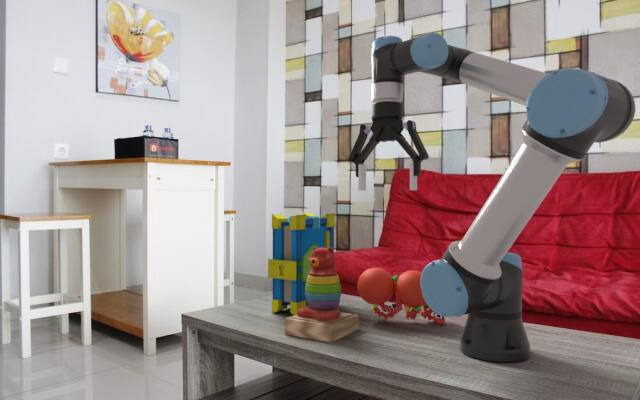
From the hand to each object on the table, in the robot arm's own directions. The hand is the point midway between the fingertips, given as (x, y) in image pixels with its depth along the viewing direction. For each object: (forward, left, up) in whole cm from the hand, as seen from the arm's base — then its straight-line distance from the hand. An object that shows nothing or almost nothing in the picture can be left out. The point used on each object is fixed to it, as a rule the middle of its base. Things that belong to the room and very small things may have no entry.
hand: (387, 190), depth 124 cm
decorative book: (+37, -19, -37) cm, 56 cm away
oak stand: (+18, +1, -37) cm, 41 cm away
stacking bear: (+18, +1, -33) cm, 37 cm away
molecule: (+4, -19, -37) cm, 42 cm away
